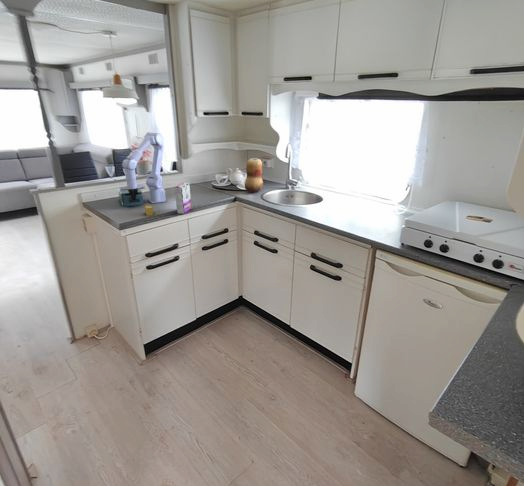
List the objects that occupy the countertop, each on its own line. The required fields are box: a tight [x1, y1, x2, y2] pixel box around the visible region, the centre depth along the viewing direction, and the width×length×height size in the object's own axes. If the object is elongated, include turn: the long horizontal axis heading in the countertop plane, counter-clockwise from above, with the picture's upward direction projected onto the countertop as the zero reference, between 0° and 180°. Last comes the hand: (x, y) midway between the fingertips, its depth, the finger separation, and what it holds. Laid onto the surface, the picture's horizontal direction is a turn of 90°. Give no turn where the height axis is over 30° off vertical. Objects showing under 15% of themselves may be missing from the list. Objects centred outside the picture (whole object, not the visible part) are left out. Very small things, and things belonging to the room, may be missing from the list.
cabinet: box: [117, 188, 143, 207], centre depth 214 cm, size 15×13×8 cm
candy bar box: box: [174, 182, 193, 215], centre depth 195 cm, size 11×5×16 cm, turn 168°
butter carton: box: [144, 205, 154, 217], centre depth 191 cm, size 5×3×4 cm
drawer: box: [123, 193, 145, 207], centre depth 208 cm, size 18×11×6 cm, turn 29°
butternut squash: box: [244, 157, 264, 194], centre depth 239 cm, size 14×13×25 cm
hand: (134, 201), depth 202 cm, fingers closed, pressing on drawer
